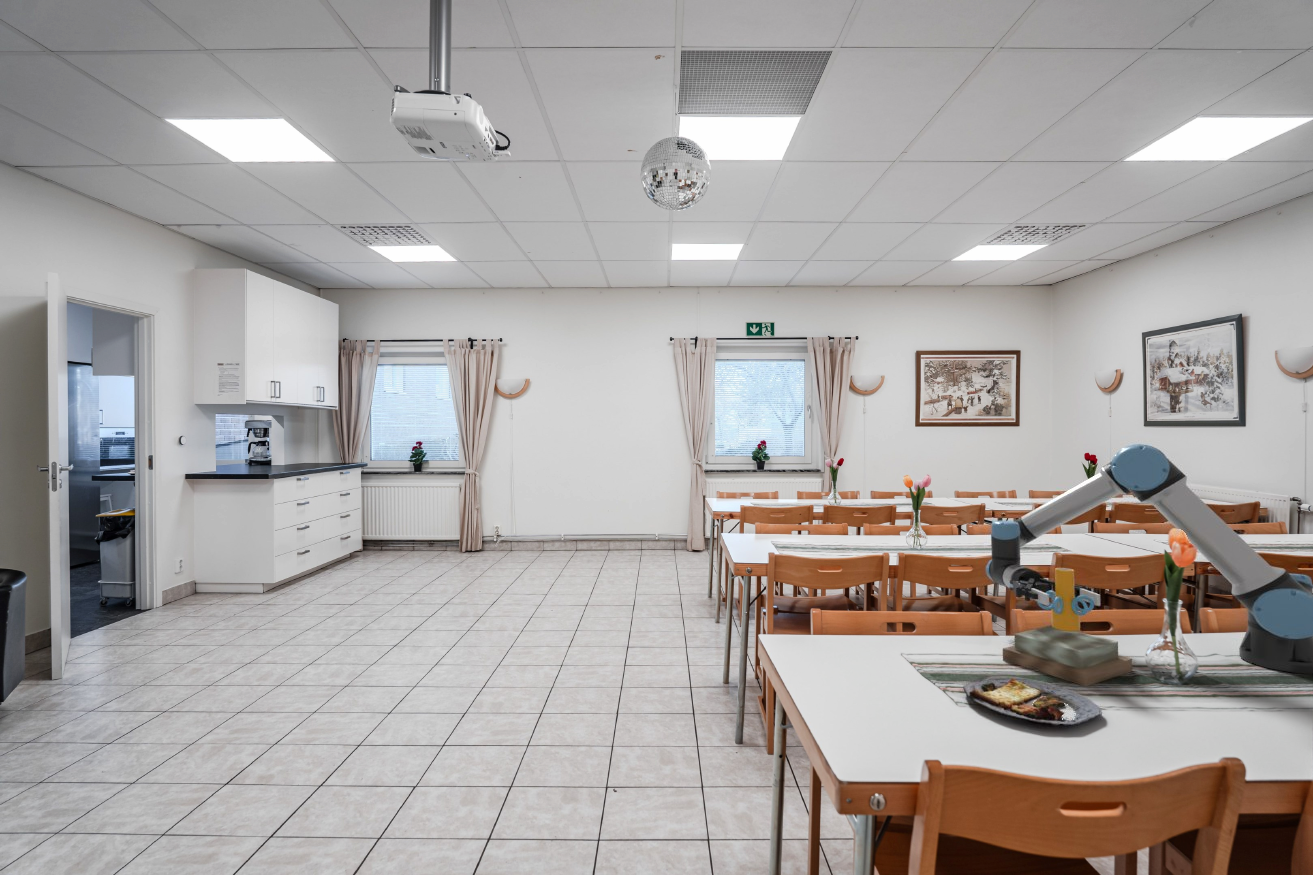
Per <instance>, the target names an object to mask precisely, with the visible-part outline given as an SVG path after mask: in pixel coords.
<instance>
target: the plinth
mask: <svg viewBox="0 0 1313 875" xmlns="http://www.w3.org/2000/svg"><path fill="white" fill-rule="evenodd" d="M1013 635H1014V645H1010V646H1007V647H1003V648H1002V661H1004V662H1009V663H1011V664H1015V665H1018V666H1021V667H1024V668H1027V669H1030V670H1033V671H1036V672H1039V673H1043V674H1046V675H1049V676H1053V677H1055V678H1059V679H1061V680H1065V681H1068V682H1072V683H1075V684H1076V685H1077V684H1078V685H1079V686H1080V685H1081V686H1084V687H1089V686H1093V685H1095V684H1097V683H1101V682H1104V681H1107V680H1110V679H1113V678H1116V677H1119V676H1121V675H1124V674H1127V673H1128V674H1129V673H1131V672H1133V658H1130V657H1127V656H1123V655H1119V641H1118V640H1113V639H1110V638H1105V637H1102V636H1097V635H1094V634H1093V635H1092V634H1088V633H1084V632H1080V631H1076V632H1068V631H1061V630H1058V629H1055V628H1053V627H1052V624H1051V625H1046V626H1042V627H1041V626H1040V627H1037V628H1035V629H1029V630H1025V631H1022V632H1018V633H1017V632H1016V633H1014V634H1013Z"/></svg>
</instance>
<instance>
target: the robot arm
mask: <svg viewBox="0 0 1313 875" xmlns="http://www.w3.org/2000/svg"><path fill="white" fill-rule="evenodd" d="M1187 481H1188V480H1187V476H1186V474H1184V472H1182V470H1180V469H1179V468H1178V467H1177V466H1176V464H1174V463H1172V461H1171V460H1170V459H1169V458H1167V455H1165V454H1164V452H1162V451H1161V450H1160V449H1158V448H1157V447H1154V446H1151V445H1147V444H1141V443H1140V444H1131V445H1128V446H1125V447H1123V448H1121V449H1120V450H1119V451H1118V452H1116V454H1115V455H1114V456H1113V458H1112V460H1111V461H1109V463H1107V464H1105V465H1104V466H1101V468H1100V472H1098V473H1097V474H1095V475H1093V476H1091V477H1089V478H1088V479H1086V480H1084V481H1082V482H1081V483H1079V484H1077V485H1075V486H1074V487H1072V488H1070V489H1068V490H1067V491H1065V492H1063V493H1062V494H1060V495H1058V496H1056V497H1054V498H1052V499H1051V500H1049V501H1047V502H1045V503H1043V504H1041V505H1040V506H1039V507H1037V508H1035V509H1033V510H1031V511H1029V512H1028V513H1026V514H1024V515H1022V516H1020V517H1019V518H1016V520H1014V521H1012V520H994V521H992V522H991V524H990V525H991V526H990V537H991V539H990V542H991V544H990V545H991V558H990V560H989V561H988V562H987V563H986V566H985V574H986V575H987V577H988V578H989V580H991V581H992V582H994V583H995V584H997V585H999V586H1001V587H1002V586H1003V587H1005V588H1008V589H1009V590H1010V591H1012V592H1013V593H1014V595H1015V597H1016V598H1022V596H1023V597H1024V601H1026V602H1030V601H1031V600H1033V601H1035V602H1039V603H1041V604H1042V605H1043V606H1049V602H1050V597H1049V594H1046V592H1047V591H1054V592H1055V580H1048V579H1047V578H1045V577H1044V576H1043V575H1042V574H1041V573H1040V572H1038V571H1037V570H1034V569H1031V568H1029V567H1026V566H1024V565H1022V564H1021V547H1024V546H1025V545H1027V544H1028V543H1031V542H1032V541H1034V540H1036V539H1037V538H1040V537H1042V536H1043V535H1045V534H1048V533H1049V532H1051V531H1053V530H1055V529H1057V528H1058V527H1060V526H1062V525H1064V524H1066V523H1068V522H1069V521H1071V520H1074V519H1075V518H1077V517H1079V516H1081V515H1083V514H1085V513H1086V512H1089V511H1090V510H1092V509H1094V508H1096V507H1098V506H1100V505H1102V504H1103V503H1105V502H1107V501H1109V500H1111V499H1113V498H1115V497H1117V496H1120V495H1124V496H1127V495H1129V494H1132V495H1133V496H1134V497H1135V498H1136V499H1137V500H1138V501H1139V502H1140V503H1141V504H1145V505H1146V504H1147V505H1152V506H1153V507H1154V508H1156V510H1157V511H1159V512H1158V513H1160V514H1161V515H1162V516H1163V517H1165V519H1166V520H1167V521H1168V522H1170V524H1171V525H1172V526H1173V527H1174V528H1175V529H1176V530H1177V529H1181V530H1183V531H1184V532H1185V533H1186V535H1187V537H1188V539H1189V542H1188V543H1190V544H1191V545H1192V546H1194V548H1195V549H1197V551H1198V552H1199V553H1200V554H1201V555H1202V556H1203V557H1204V558H1206V560H1207V561H1208V562H1209V563H1211V565H1212V566H1213V567H1214V568H1215V569H1216V570H1217V571H1218V572H1220V575H1221V574H1222V576H1223V577H1224V578H1225V579H1226V580H1227V581H1228V582H1229V583H1230V584H1231V586H1232V587H1231V594H1232V596H1233V597H1234V598H1236V599H1237V600H1238V602H1240V603H1241V605H1242V606H1244V607H1245V608H1246V610H1247V629H1246V632H1245V634H1244V637H1243V638H1242V640H1241V643H1240V645H1239V648H1238V649H1239V651H1238V652H1239V655H1238V656H1239V658H1240V657H1241V658H1240V659H1241V660H1243V659H1244V660H1243V661H1245V662H1247V661H1248V663H1250V664H1252V663H1254V664H1253V665H1255V664H1256V665H1257V666H1260V667H1263V668H1268V669H1271V670H1276V671H1282V672H1288V673H1293V674H1294V673H1295V674H1305V675H1313V582H1312V578H1311V577H1310V576H1309V575H1306V574H1300V573H1289V572H1288V571H1287V570H1286V569H1285V568H1282V567H1276V566H1272V565H1270V564H1269V563H1268V562H1267V560H1265V559H1264V558H1263V557H1262V556H1261V555H1260V554H1258V553H1257V551H1255V550H1254V549H1253V547H1251V546H1250V545H1249V544H1248V542H1246V541H1245V539H1242V537H1241V536H1240V535H1238V533H1237V532H1235V531H1234V529H1232V527H1230V525H1228V524H1227V523H1226V522H1225V520H1223V519H1222V518H1221V517H1220V516H1219V515H1218V514H1217V513H1215V511H1214V510H1212V508H1210V506H1208V504H1206V502H1204V501H1203V500H1202V499H1201V498H1200V497H1199V496H1198V495H1197V494H1196V493H1195V492H1194V491H1192V489H1190V488H1189V487H1188V485H1187ZM1074 593H1075V598H1077V597H1078V596H1087V597H1089V598H1091V599H1092V601H1093V603H1094V606H1101V594H1098V593H1096V592H1093V589H1092V587H1087V585H1079V584H1075V583H1074ZM1051 595H1053V594H1051ZM1053 596H1054V595H1053ZM1082 600H1084V601H1085V602H1086V603H1089V604H1090V602H1089V601H1088V600H1087V599H1082ZM1256 665H1255V666H1256Z"/></svg>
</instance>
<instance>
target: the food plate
mask: <svg viewBox="0 0 1313 875" xmlns="http://www.w3.org/2000/svg"><path fill="white" fill-rule="evenodd" d="M962 690H963V691H964V693H965V695H966V697H968V698H969V699H970V700H971V701H972V702H973V703H976V704H979V705H980V706H983V707H984V708H987V709H989V710H992V711H994V712H996V713H998V714H1000V715H1001V714H1002V715H1004V716H1008V717H1011V718H1016V719H1020V720H1025V721H1030V722H1032V723H1035V724H1040V723H1041V724H1045V725H1047V724H1048V725H1049V727H1051V725H1052V726H1054V727H1055V726H1059V725H1060V724H1061V725H1062V724H1063V725H1064V726H1065V727H1068V726H1073V725H1080V724H1081V723H1084V722H1088V721H1089V720H1091V719H1094V718H1095V717H1096V716H1098V715H1100V716H1102V714H1103V711H1102V709H1101V708H1100V707H1099V706H1098V705H1097V704H1096V703H1095V702H1093V701H1092V700H1091V699H1090V698H1088V697H1086V696H1084V695H1082V694H1081V693H1078V692H1076V691H1075V690H1072V689H1069V688H1067V687H1064V686H1060V685H1056V684H1052V683H1049V682H1045V681H1040V680H1034V679H1030V678H1024V677H1020V676H1019V677H1018V676H1008V675H1007V676H1005V675H1004V676H1003V675H1002V676H990V675H988V676H982V677H978V678H976V679H972V680H971V681H968V682H967V683H965V684H964V685H963V689H962ZM1037 698H1038V699H1037ZM1034 700H1035V701H1034ZM1033 702H1034V703H1033ZM1064 703H1065V704H1064ZM1032 704H1033V705H1032ZM1067 704H1068V705H1067ZM1066 705H1067V706H1068V707H1069V708H1070V707H1071V708H1070V709H1072V711H1073V713H1076V715H1075V714H1074V715H1073V717H1075V718H1071V719H1072V720H1071V719H1069V720H1066V719H1068V717H1065V718H1063V717H1064V716H1063V717H1062V715H1065V714H1066V712H1065V711H1063V710H1061V709H1059V707H1060V708H1064V707H1063V706H1066ZM1062 718H1063V720H1062ZM1073 719H1074V720H1073Z"/></svg>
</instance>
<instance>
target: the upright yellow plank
mask: <svg viewBox="0 0 1313 875" xmlns="http://www.w3.org/2000/svg"><path fill="white" fill-rule="evenodd" d="M1054 581H1055V592H1054V591H1053V590H1051V591H1047V592H1046V594H1049V599H1050V598H1051V600H1052V603H1051V602H1050V601H1049V605H1048V606H1046V605H1044V604H1042V603H1039V602H1037V601H1036V602H1037V605H1038V606H1039V607H1040V608H1041V609H1042V610H1046V611H1051V613H1050V614H1051V616H1050V618H1051V625H1052V627H1053V628H1055V629H1058V630H1061V631H1068V632H1076V631H1077V632H1080V631H1081V616H1085V615H1087V613H1090V612H1092V610H1093V609H1094V607H1095V605H1094V603H1093V601H1092V599H1091V598H1089V597H1087V596H1078V597H1075V593H1074V584H1075V569H1072V568H1069V567H1068V568H1065V567H1055V568H1054ZM1052 594H1053V595H1052ZM1082 599H1087V600H1088V601H1089V602H1090V603H1089V602H1088V603H1089V607H1088V605H1087V602H1086V601H1084V600H1082ZM1079 602H1080V603H1081V604H1082V606H1083V608H1081V607H1079V605H1078V603H1079Z"/></svg>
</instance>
